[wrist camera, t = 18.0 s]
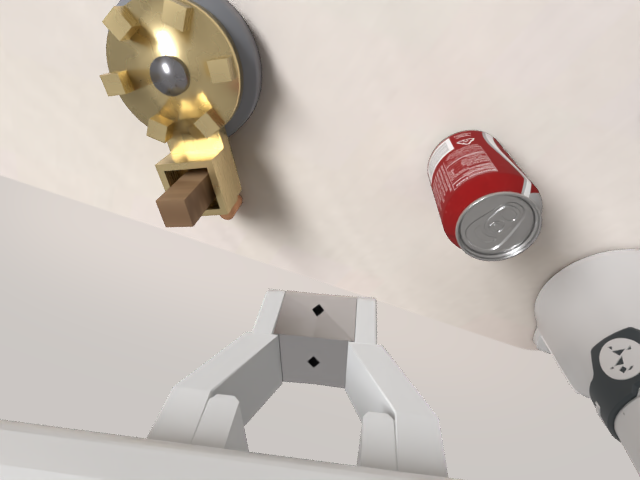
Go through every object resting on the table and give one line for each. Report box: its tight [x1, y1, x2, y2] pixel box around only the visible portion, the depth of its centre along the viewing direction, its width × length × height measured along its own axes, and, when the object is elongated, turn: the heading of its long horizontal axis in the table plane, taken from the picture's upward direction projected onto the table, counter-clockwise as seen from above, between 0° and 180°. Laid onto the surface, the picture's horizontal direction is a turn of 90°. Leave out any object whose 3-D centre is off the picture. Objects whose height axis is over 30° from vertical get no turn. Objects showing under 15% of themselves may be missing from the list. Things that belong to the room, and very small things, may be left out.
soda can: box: [427, 130, 542, 261], centre depth 30 cm, size 7×7×12 cm
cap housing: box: [108, 0, 262, 220], centre depth 33 cm, size 16×18×3 cm
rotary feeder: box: [100, 0, 244, 216], centre depth 31 cm, size 17×11×4 cm, turn 7°
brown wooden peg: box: [156, 168, 216, 227], centre depth 32 cm, size 2×2×7 cm
